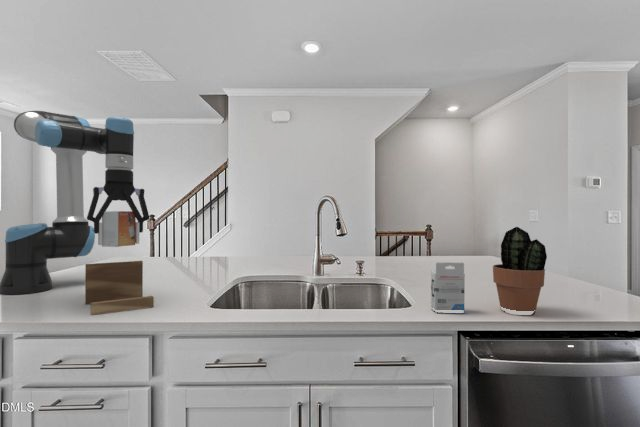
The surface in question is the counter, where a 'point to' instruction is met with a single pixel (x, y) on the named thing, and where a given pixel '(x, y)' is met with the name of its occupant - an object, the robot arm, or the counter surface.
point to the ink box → (448, 287)
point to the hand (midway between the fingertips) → (119, 243)
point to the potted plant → (520, 271)
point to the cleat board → (115, 287)
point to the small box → (118, 228)
